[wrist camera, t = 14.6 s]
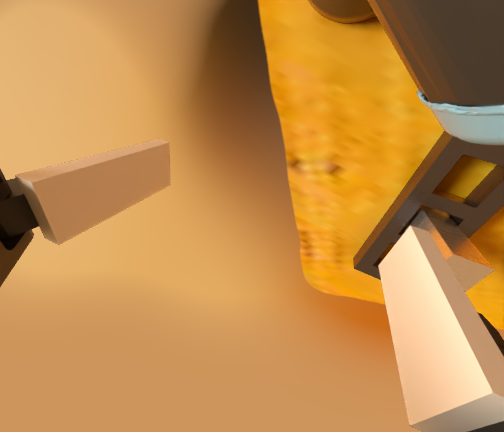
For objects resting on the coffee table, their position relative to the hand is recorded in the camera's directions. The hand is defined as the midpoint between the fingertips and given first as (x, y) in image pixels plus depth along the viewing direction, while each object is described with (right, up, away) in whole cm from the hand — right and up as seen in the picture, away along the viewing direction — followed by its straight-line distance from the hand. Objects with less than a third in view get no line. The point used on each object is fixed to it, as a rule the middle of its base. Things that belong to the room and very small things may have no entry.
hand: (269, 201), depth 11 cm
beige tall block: (+26, -1, +22) cm, 34 cm away
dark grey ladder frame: (+26, -1, +22) cm, 34 cm away
